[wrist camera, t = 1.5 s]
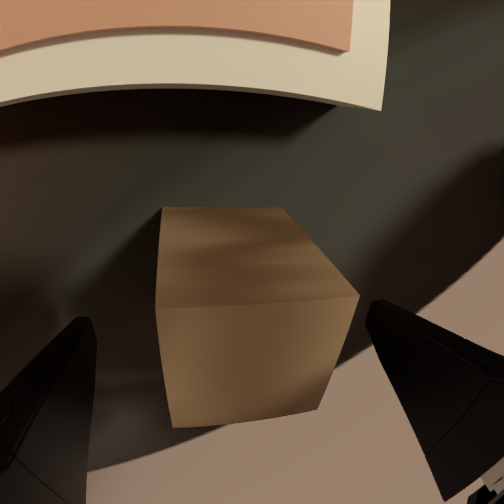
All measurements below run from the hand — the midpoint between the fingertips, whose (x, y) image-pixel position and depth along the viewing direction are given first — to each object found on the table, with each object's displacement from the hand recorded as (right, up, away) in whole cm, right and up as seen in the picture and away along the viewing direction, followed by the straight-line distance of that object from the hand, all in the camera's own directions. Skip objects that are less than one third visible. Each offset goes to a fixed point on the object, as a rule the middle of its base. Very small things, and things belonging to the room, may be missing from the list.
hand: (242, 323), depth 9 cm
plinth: (-2, +13, -3) cm, 14 cm away
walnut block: (-1, +2, +3) cm, 4 cm away
